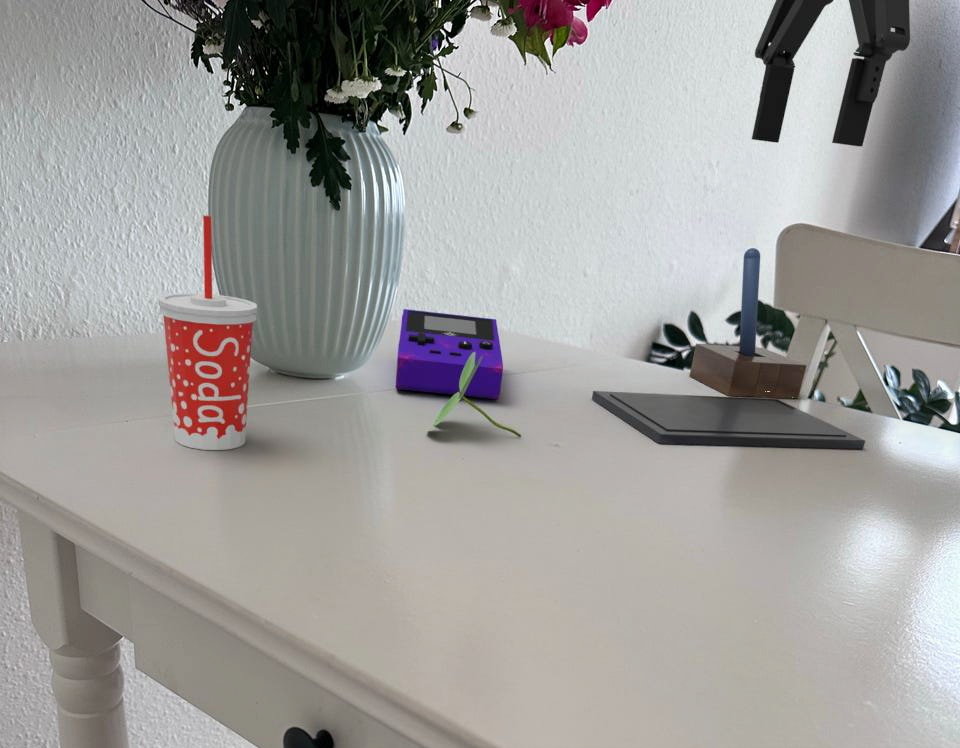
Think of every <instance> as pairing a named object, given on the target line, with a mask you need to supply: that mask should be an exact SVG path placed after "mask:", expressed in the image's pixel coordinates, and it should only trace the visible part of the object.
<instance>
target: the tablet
mask: <svg viewBox="0 0 960 748" xmlns="http://www.w3.org/2000/svg"><path fill="white" fill-rule="evenodd" d="M591 400H592V401H593V402H595V403H596V404H598V405H600V406H602V407H603V408H605V409H606V410H608V411H609V412H610V413H612V414H614V415H615V416H616V417H618V418H620V419H621V420H623V421H624V422H625V423H627V424H628V425H630V426H631V427H633V428H634V429H636V430H637V431H639V432H641V433H642V434H644V435H645V436H646V437H648V438H650V439H651V440H653V441H654V442H656V443H657V444H659V445H691V446H693V445H695V446H728V447H729V446H730V447H731V446H732V447H733V446H734V447H763V448H765V447H767V448H768V447H769V448H800V449H801V448H802V449H838V450H839V449H840V450H863V449H864V448H865V444H866V440H865V439H863V438H861V437H859V436H856V435H854V434H852V433H851V432H848V431H846V430H844V429H842V428H839V427H838V426H835V425H833V424H831V423H829V422H827V421H825V420H823V419H820V418H818V417H816V416H814V415H813V414H810V413H807V412H805V411H803V410H801V409H799V408H797V407H795V406H793V405H790V404H789V403H787V402H784V401H782V400H781V399H779V398H762V397H740V396H717V395H716V396H714V395H695V394H694V395H693V394H692V395H691V394H672V393H671V394H669V393H650V392H649V393H648V392H646V393H645V392H627V391H607V390H606V391H605V390H604V391H603V390H602V391H601V390H592V397H591Z"/></svg>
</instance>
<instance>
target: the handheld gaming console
mask: <svg viewBox="0 0 960 748" xmlns="http://www.w3.org/2000/svg"><path fill="white" fill-rule="evenodd" d="M498 329H499V328H498V323H497V319H496V318H487V317H481V316H479V317H478V316H470V315H461V314H451V313H444V312H435V311H425V310H416V309H407V308H403V309H402V314H401V325H400V332H399V341H398V348H397V357H396V358H397V360H396V372H395V373H396V374H395V389H396V390H405V391H413V392H424V393H431V394H432V393H433V394H441V395H443V394H444V395H452V396H453V395H454V394H456V393H457V392H459V393H460V389H459V381H460V377H461V374H462V371H463V369H464V366H465V364H466V362H467V360H468V358H469V357H470V355H471V354H472V353H473V352H475V365H476V363H477V362H478V360H479V359H480V357H481V356H482V359H481V361H480V364H479V366H478V368H477V370H476V371H475V373H474V375H473V377H472V379H471V381H470V383H469V385H468V387H467V389H466V391H465V393H464V395H463V396H464V397H471V398H480V399H491V400H499V399H500V395H501V389H502V380H503V374H504V373H503V372H504V362H503V355H502V348H501V342H500V336H499V332H498V331H499V330H498ZM475 365H474V367H475Z"/></svg>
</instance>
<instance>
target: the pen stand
mask: <svg viewBox="0 0 960 748" xmlns="http://www.w3.org/2000/svg"><path fill="white" fill-rule="evenodd" d="M739 349H740V345H739V346H738V345H725V344H723V345H722V344H708V343H695V348H694V353H693V358H692V362H691V366H690V371H689V375H688V376H689V378H692V379H694V380H696V381H698V382H700V383H701V384H704V385H706V386H708V387H710V388H712V389H714V390H716V391H718V392H720V393H722V394H723V395H726V396H727V397H742V396H744V397H743V398H763V397H767V398H766V399H785V398H792V397H793V398H798V399H799V397H800V392H801V389H802V385H803V382H804V377H805V374H806V370H807V367H808V366H807V364H805V363H802V362H799V361H797V360H795V359H792V358H789V357H787V356H785V355H782V354H779V353H777V352H775V351H772V350H769V349H767V348H765V347H756V346H755V357H752V356H745V355H742V354H740V353H739ZM765 391H766V392H765ZM767 391H770V392H767ZM745 396H746V397H745ZM747 396H749V397H747Z"/></svg>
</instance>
